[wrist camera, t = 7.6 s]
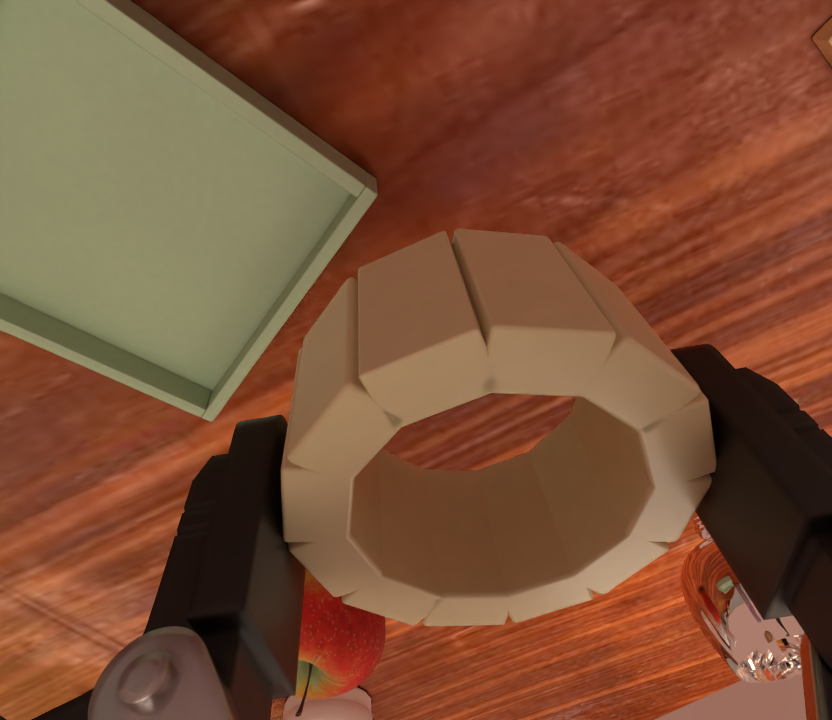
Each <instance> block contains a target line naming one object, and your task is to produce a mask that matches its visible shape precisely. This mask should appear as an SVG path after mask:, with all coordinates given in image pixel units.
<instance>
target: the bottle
mask: <svg viewBox="0 0 832 720" xmlns="http://www.w3.org/2000/svg"><path fill="white" fill-rule="evenodd" d="M301 702H302V698H297V697H293V696H290V697H289V698H288V699H287V701H286V703H285V705H284V715H283V720H372V713H371V698H370V697H369V696H368V694H367V693H366V692H365V691H364V690H362V689H360V688H358V687H355V688H354V689H352V690H350V691H348V692H346V693H344V694H341V695H338V696H335V697H330V698H324V699H305V702H304V706H303V711H302V714H301V716H299V717H296V716H295V714H296V713H297V711H298V709H299V707H300V704H301Z"/></svg>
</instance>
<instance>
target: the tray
mask: <svg viewBox="0 0 832 720" xmlns="http://www.w3.org/2000/svg"><path fill="white" fill-rule="evenodd" d="M377 195H378V193H377V180H376V178H374V177H373V176H372V175H370V174H369V173H368V172H366V171H365V170H363V169H362V168H361V167H359V166H358V165H357V164H355V163H354V162H352V161H351V160H350V159H348V158H347V157H346V156H344V155H343V154H341V153H340V152H339V151H337V150H336V149H335V148H333V147H332V146H330V145H329V144H328V143H326V142H325V141H324V140H322V139H321V138H319V137H318V136H317V135H315V134H314V133H312V132H311V131H310V130H308V129H307V128H306V127H304V126H303V125H301V124H300V123H299V122H297V121H296V120H295V119H293V118H292V117H290V116H289V115H288V114H286V113H285V112H284V111H282V110H281V109H279V108H278V107H277V106H275V105H274V104H273V103H271V102H270V101H268V100H267V99H266V98H264V97H263V96H262V95H260V94H259V93H257V92H256V91H255V90H253V89H252V88H251V87H249V86H248V85H246V84H245V83H244V82H242V81H241V80H240V79H238V78H237V77H235V76H234V75H233V74H231V73H230V72H229V71H227V70H226V69H224V68H223V67H222V66H220V65H219V64H218V63H216V62H215V61H213V60H212V59H211V58H209V57H208V56H207V55H205V54H204V53H202V52H201V51H200V50H198V49H197V48H196V47H194V46H193V45H191V44H190V43H189V42H187V41H186V40H185V39H183V38H182V37H180V36H179V35H178V34H176V33H175V32H174V31H172V30H171V29H169V28H168V27H167V26H165V25H164V24H163V23H161V22H160V21H158V20H157V19H156V18H154V17H153V16H152V15H150V14H149V13H147V12H146V11H145V10H143V9H142V8H141V7H139V6H138V5H136V4H135V3H134V2H132V1H131V0H0V330H2V331H4V332H6V333H9V334H11V335H13V336H15V337H18V338H20V339H22V340H25V341H27V342H29V343H31V344H34V345H36V346H38V347H41V348H43V349H45V350H47V351H50V352H52V353H54V354H57V355H59V356H61V357H63V358H66V359H68V360H70V361H72V362H75V363H77V364H79V365H82V366H84V367H86V368H88V369H91V370H93V371H95V372H98V373H100V374H102V375H104V376H107V377H109V378H111V379H114V380H116V381H118V382H120V383H123V384H125V385H127V386H130V387H132V388H134V389H136V390H139V391H141V392H143V393H146V394H148V395H150V396H152V397H155V398H157V399H159V400H162V401H164V402H166V403H168V404H171V405H173V406H175V407H178V408H180V409H182V410H184V411H187V412H189V413H191V414H194V415H196V416H198V417H201V416H202V418H203V419H205V420H208V421H210V422H213V420H214V419H215V418H216V416H217V415H218V414H219V412H220V411H221V409H222V408H223V407H224V405H225V404H226V403H227V401H228V400H229V399H230V397H231V396H232V394H233V393H234V392H235V390H236V389H237V388H238V386H239V385H240V383H241V382H242V381H243V379H244V378H245V377H246V375H247V374H248V372H249V371H250V370H251V368H252V367H253V366H254V364H255V363H256V362H257V360H258V359H259V357H260V356H261V355H262V353H263V352H264V351H265V349H266V348H267V346H268V345H269V344H270V342H271V341H272V340H273V338H274V337H275V335H276V334H277V333H278V331H279V330H280V329H281V327H282V326H283V325H284V323H285V322H286V320H287V319H288V318H289V316H290V315H291V314H292V312H293V311H294V309H295V308H296V307H297V305H298V304H299V303H300V301H301V300H302V298H303V297H304V296H305V294H306V293H307V292H308V290H309V289H310V288H311V286H312V285H313V283H314V282H315V281H316V279H317V278H318V277H319V275H320V274H321V272H322V271H323V270H324V268H325V267H326V266H327V264H328V263H329V262H330V260H331V259H332V257H333V256H334V255H335V253H336V252H337V251H338V249H339V248H340V246H341V245H342V244H343V242H344V241H345V240H346V238H347V237H348V235H349V234H350V233H351V231H352V230H353V229H354V227H355V226H356V225H357V223H358V222H359V220H360V219H361V218H362V216H363V215H364V214H365V212H366V211H367V209H368V208H369V207H370V205H371V204H372V203H373V201H374V200H375V198H376V197H377Z"/></svg>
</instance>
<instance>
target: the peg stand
mask: <svg viewBox="0 0 832 720" xmlns="http://www.w3.org/2000/svg"><path fill="white" fill-rule="evenodd" d="M812 39H813V41H814V42H815V44H816V45H817V46H818V48H819V49H820V51H821V52H822V54H823V55H824V56H825V58H826V59H827V61H828V62H829V64H830V65H831V66H832V17H831V18H830V20H829V21H828V22H827V23H826V24H825V25H824V26H823V27H822V28H821V29H820V30H819V31H818V32H817V33H816V34H815V35H814V36H813V37H812Z"/></svg>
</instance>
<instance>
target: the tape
mask: <svg viewBox="0 0 832 720" xmlns="http://www.w3.org/2000/svg"><path fill="white" fill-rule="evenodd" d="M490 393H504V394H529V395H553V396H576V399H575V401H574V404H573V407H572V410H571V412H570V415H569V416H568V417H567V418H566V419H565V420H563V421H562V422H561V423H560V424H559V425H558V426H557V427H556V428H555V429H553V430H552V431H551V432H550V433H549V434H548V435H547V436H546V437H545V438H543V439H542V440H541V441H540V442H539V443H538V444H537V445H536V446H535V447H533V448H532V449H531V450H530V451H529V452H527V453H524V454H521V455H518V456H516V457H513V458H510V459H507V460H504V461H502V462H499V463H496V464H493V465H491V466H488V467H485V468H482V469H479V470H428V469H422V468H420V467H418V466H416V465H414V464H412V463H410V462H407V461H405V460H403V459H401V458H399V457H397V456H395V455H392V454H390V453H388V452H386V451H384V450H382V449H381V448H382V447H383V446H384V445H385V444H386V443H387V442H388V441H389V440H390V439H391V438H392V437H393V436H394V434H395V433H396V432H397V431H398V430H399V429H400V428H401V427H403V426H406V425H408V424H411V423H414V422H416V421H419V420H421V419H424V418H427V417H429V416H432V415H435V414H437V413H440V412H442V411H445V410H448V409H450V408H453V407H456V406H458V405H461V404H463V403H466V402H469V401H471V400H474V399H477V398H479V397H482V396H484V395H487V394H490ZM716 462H717V460H716V453H715V445H714V438H713V431H712V424H711V417H710V410H709V402H708V399H707V398H706V396H705V395H704V394H703V393H702V391H701V390H700V388H699V385H698V384H697V383H696V382H695V380H694V379H693V378H692V377H691V375H690V374H689V373H688V372H687V371H686V369H685V368H684V367H683V366H682V364H681V363H680V362H679V361H678V360H677V358H676V357H675V356H674V355H673V353H672V352H671V351H670V350H669V349H668V347H667V346H666V345H665V344H664V343H663V341H662V340H661V339H660V338H659V336H658V335H657V334H656V333H655V332H654V330H653V329H652V328H651V327H650V325H649V324H648V323H647V322H646V321H645V319H644V318H643V317H642V316H641V314H640V313H639V312H638V311H637V310H636V308H635V307H634V306H633V305H632V303H631V302H630V301H629V300H628V299H627V297H626V296H625V295H624V294H623V293H622V291H621V290H620V289H619V288H618V286H617V285H615V284H614V283H613V282H612V281H610V280H609V279H608V278H606V277H605V276H604V275H603V274H601V273H600V272H599V271H597V270H596V269H595V268H594V267H592V266H591V265H590V264H588V263H587V262H586V261H584V260H583V259H582V258H581V257H579V256H578V255H577V254H575V253H574V252H573V251H572V250H570V249H569V248H568V247H566V246H565V245H564V244H563V243H560V242H556V243H554V244H553V243H552V242H551V241H550V239H549V238H548V237H547V236H542V235H530V234H518V233H505V232H493V231H481V230H469V229H456V230H455V232H454V237H453V243H452V244H451V242H450V239H449V237H448V234H447V232H445V231H442V232H439V233H437V234H435V235H432V236H430V237H428V238H426V239H423V240H421V241H419V242H416V243H414V244H412V245H410V246H407V247H405V248H403V249H400V250H398V251H396V252H394V253H391V254H389V255H387V256H384V257H382V258H380V259H378V260H375V261H373V262H371V263H368V264H366V265H364V266H362V267H360V268H359V269H358V280H357V279H355V278H353V277H350V278H348V279H347V280H346V281H345V283H344V284H343V285H342V287H341V288H340V290H339V291H338V292H337V294H336V295H335V296H334V298H333V299H332V300H331V302H330V303H329V305H328V306H327V307H326V309H325V310H324V311H323V313H322V314H321V315H320V317H319V318H318V320H317V321H316V322H315V324H314V325H313V326H312V328H311V329H310V330H309V332H308V333H307V335H306V336H305V337H304V340H303V347H302V348H300V350H299V353H298V360H297V367H296V373H295V380H294V386H293V393H292V400H291V406H290V413H289V419H288V426H287V432H286V439H285V446H284V452H283V459H282V465H281V498H282V535H283V540H284V541H285V542H288V549H289V551H290V552H291V553H292V554H293V555H294V556H295V558H296V559H297V560H298V561H299V562H300V563H301V564H302V565H303V566H304V567H305V568H306V569H307V570H308V571H309V572H310V573H311V574H312V575H313V576H314V577H315V578H316V579H317V580H318V581H319V582H320V583H321V584H322V585H323V587H324V588H325V589H326V590H327V591H328V592H329V593H330V594H331V595H332V596H333V597H339V596H342V602H343V603H344V604H347V605H350V606H353V607H356V608H360V609H363V610H366V611H369V612H372V613H375V614H378V615H381V616H385V617H388V618H391V619H394V620H397V621H400V622H403V623H406V624H409V625H416V624H417V623H418V622H420V621H421V620H422V621H423V623H424V625H425V626H467V625H502V624H504V623H505V622H506V619H507V616H508V615H509V616H510V618H511V619H512V621H513V622H521V621H524V620H527V619H530V618H534V617H537V616H540V615H543V614H547V613H550V612H553V611H556V610H560V609H563V608H566V607H569V606H573V605H576V604H579V603H582V602H586V601H589V600H591V599H593V592H592V591H594V592H597V593H599V594H605V593H607V592H608V591H610V590H611V589H613V588H614V587H616V586H617V585H619V584H620V583H621V582H623V581H624V580H626V579H627V578H629V577H630V576H632V575H633V574H635V573H636V572H638V571H639V570H641V569H642V568H643V567H645V566H646V565H648V564H649V563H651V562H652V561H654V560H655V559H657V558H658V557H660V556H661V555H662V554H664V553H665V552H667V551H668V550H669V546H668V544H667V542H674V541H676V540H678V539H679V537H680V535H681V534H682V532H683V530H684V529H685V527H686V525H687V524H688V522H689V521H690V519H691V517H692V516H693V514H694V512H695V511H696V509H697V507H698V506H699V504H700V503H701V501H702V499H703V498H704V496H705V494H706V493H707V491H708V489H709V488H710V485H711V483H712V478H711V476H710V473H713V472H715V469H716Z"/></svg>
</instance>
